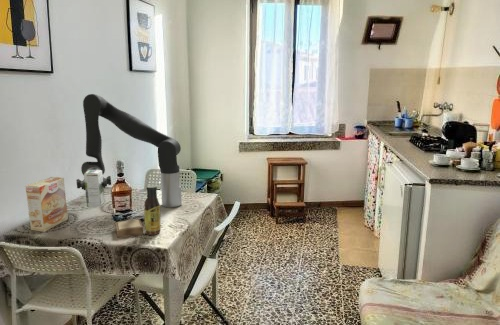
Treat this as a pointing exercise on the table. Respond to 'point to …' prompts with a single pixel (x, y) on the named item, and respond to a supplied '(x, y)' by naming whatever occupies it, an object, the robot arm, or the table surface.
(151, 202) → the sauce bottle
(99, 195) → the syrup box
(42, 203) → the coffeecake box
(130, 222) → the pedestal
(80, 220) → the table surface
